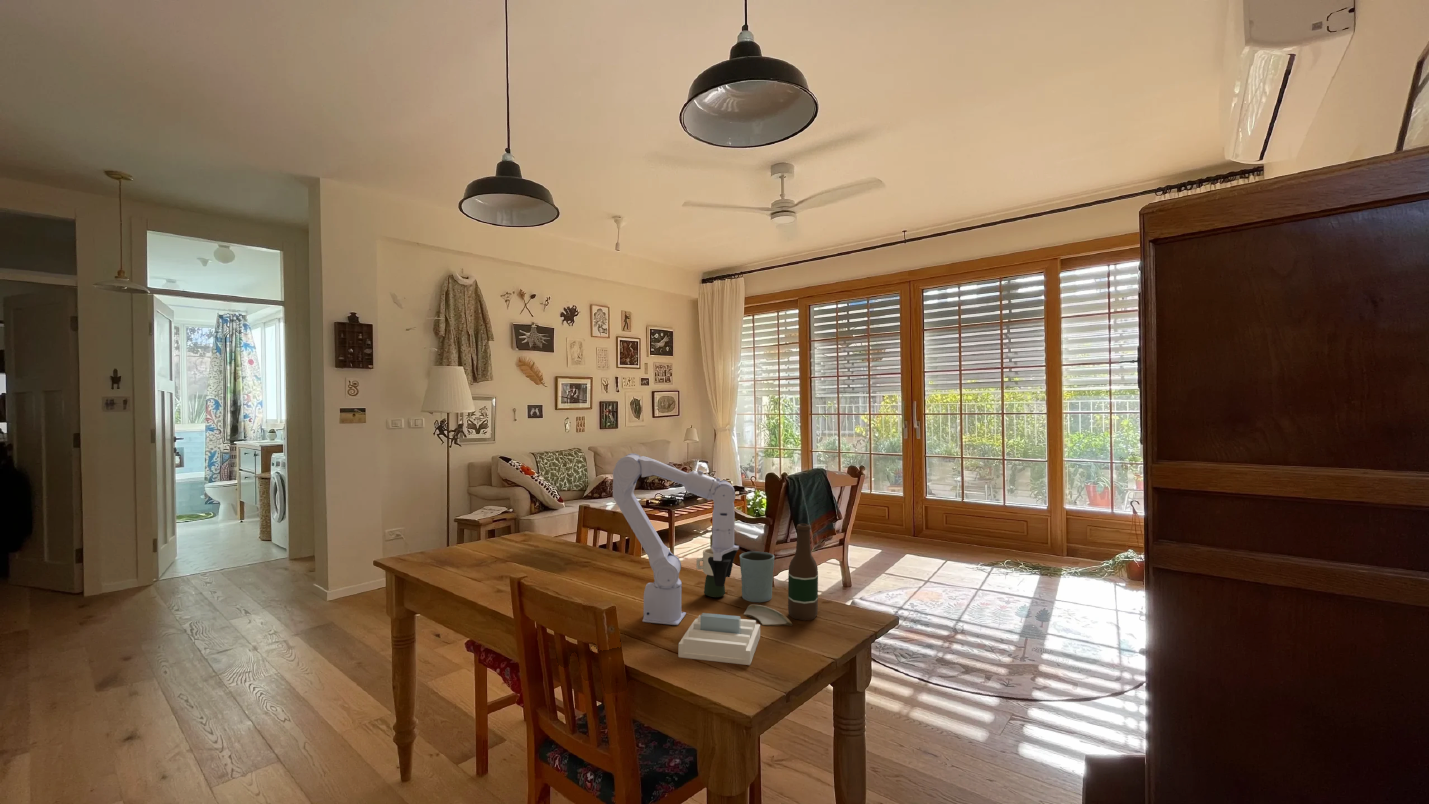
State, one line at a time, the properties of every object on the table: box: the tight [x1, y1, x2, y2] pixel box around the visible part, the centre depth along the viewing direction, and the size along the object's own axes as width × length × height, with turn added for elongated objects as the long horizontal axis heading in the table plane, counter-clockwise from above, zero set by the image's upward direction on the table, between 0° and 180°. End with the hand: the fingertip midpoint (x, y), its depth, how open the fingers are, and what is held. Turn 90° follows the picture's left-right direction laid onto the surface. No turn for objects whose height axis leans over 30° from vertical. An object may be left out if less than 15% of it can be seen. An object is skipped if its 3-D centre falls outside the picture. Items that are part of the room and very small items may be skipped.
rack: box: [677, 614, 761, 666], centre depth 131 cm, size 16×15×4 cm
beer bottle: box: [787, 523, 819, 621], centre depth 151 cm, size 8×8×24 cm
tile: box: [700, 612, 742, 634], centre depth 131 cm, size 9×2×6 cm, turn 77°
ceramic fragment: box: [743, 604, 793, 627], centre depth 147 cm, size 14×5×4 cm, turn 51°
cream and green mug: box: [696, 547, 734, 598], centre depth 166 cm, size 11×7×13 cm, turn 104°
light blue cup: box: [739, 551, 775, 603], centre depth 165 cm, size 10×10×12 cm
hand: (723, 581), depth 148 cm, fingers open, 7 cm apart
